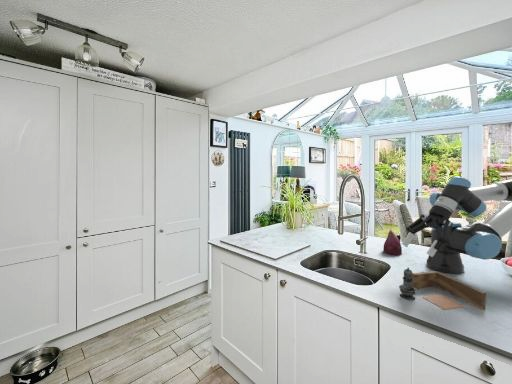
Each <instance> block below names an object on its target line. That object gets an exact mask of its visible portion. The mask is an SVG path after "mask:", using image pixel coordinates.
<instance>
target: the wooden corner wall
mask: <svg viewBox="0 0 512 384" xmlns="http://www.w3.org/2000/svg"><path fill="white" fill-rule="evenodd" d="M412 279H413V281H412V286H413V287H414V288H416V289H423V288H431V287H432V288H433V287H436V288H439V289H441V290H442V291H445V292H446V291H447V293H448V292H449V294H451V295H452V296H454V297H457V298H458V299H460V300H462V301H464V302H466V303H468V304H470V305H472V306H474V307H476V308H478V309H479V310H486V301H487V300H486V298H487V292H485V291H483V290H480V289H478V288H476V287H473V286H471V285H469V284H467V283H465V282H462V281H461V280H458V279H455V278H453V277H451V276H449V275H447V274H445V273H443V272H441V271H437V270H432V271H431V270H430V271H421V272H412Z"/></svg>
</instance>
